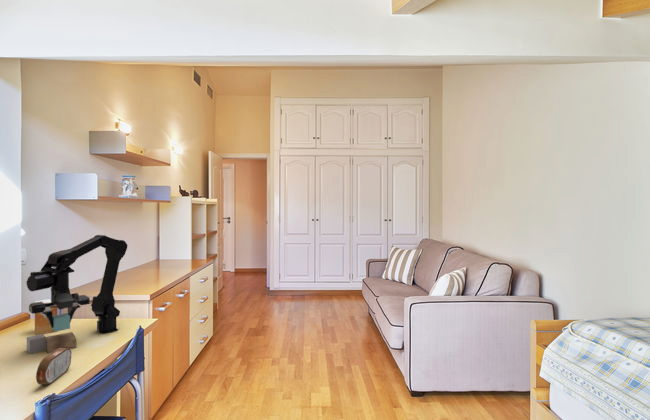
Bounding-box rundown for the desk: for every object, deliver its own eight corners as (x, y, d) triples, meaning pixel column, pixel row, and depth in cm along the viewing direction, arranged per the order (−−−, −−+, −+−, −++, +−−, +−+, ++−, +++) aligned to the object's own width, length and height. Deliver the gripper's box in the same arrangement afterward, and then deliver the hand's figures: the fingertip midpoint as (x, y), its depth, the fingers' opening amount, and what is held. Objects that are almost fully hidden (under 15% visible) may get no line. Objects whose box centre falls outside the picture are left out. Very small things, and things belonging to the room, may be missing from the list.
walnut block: (72, 341, 158) (72, 331, 158) (76, 348, 151) (76, 338, 151) (45, 347, 152) (44, 337, 152) (47, 354, 145) (47, 343, 145)
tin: (63, 368, 133) (63, 343, 133) (73, 368, 133) (73, 343, 133) (34, 389, 118) (34, 362, 118) (46, 389, 118) (45, 361, 118)
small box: (34, 335, 164) (34, 304, 164) (35, 330, 170) (35, 300, 169) (58, 331, 169) (57, 301, 168) (58, 327, 174) (57, 298, 174)
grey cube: (42, 346, 152) (42, 333, 152) (46, 350, 148) (46, 337, 148) (26, 350, 148) (26, 337, 148) (29, 354, 145) (29, 340, 145)
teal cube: (66, 325, 155) (66, 313, 155) (70, 328, 151) (70, 315, 151) (51, 328, 151) (51, 315, 151) (54, 331, 148) (54, 318, 148)
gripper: (35, 293, 138) (36, 337, 139) (94, 285, 152) (94, 325, 153) (28, 288, 146) (28, 330, 147) (84, 280, 160) (85, 318, 160)
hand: (60, 325), depth 151 cm, fingers closed on teal cube, 5 cm apart
